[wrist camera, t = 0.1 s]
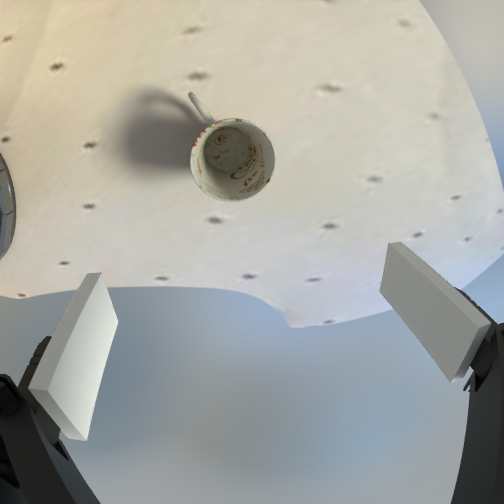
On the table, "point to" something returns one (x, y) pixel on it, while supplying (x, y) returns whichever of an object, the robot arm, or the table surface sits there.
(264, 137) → the mug
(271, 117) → the table surface
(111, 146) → the table surface
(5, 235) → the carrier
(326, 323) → the table surface
